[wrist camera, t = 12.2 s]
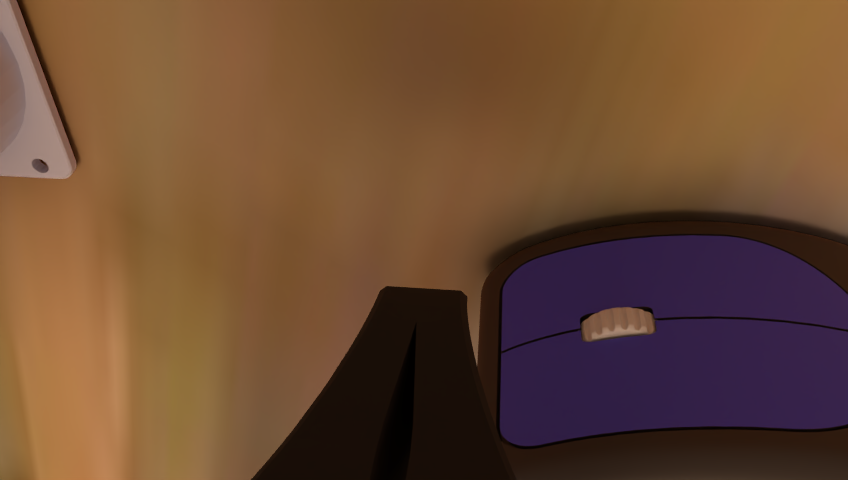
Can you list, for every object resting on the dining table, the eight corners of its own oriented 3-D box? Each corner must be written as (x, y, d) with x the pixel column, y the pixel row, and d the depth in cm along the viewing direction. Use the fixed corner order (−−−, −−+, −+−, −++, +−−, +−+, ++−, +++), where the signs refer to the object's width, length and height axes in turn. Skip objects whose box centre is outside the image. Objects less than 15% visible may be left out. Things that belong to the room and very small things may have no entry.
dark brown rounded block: (1034, 253, 22) (1294, 555, 15) (947, 354, 25) (1127, 647, 17) (502, 172, 22) (496, 433, 15) (478, 283, 25) (463, 545, 17)
